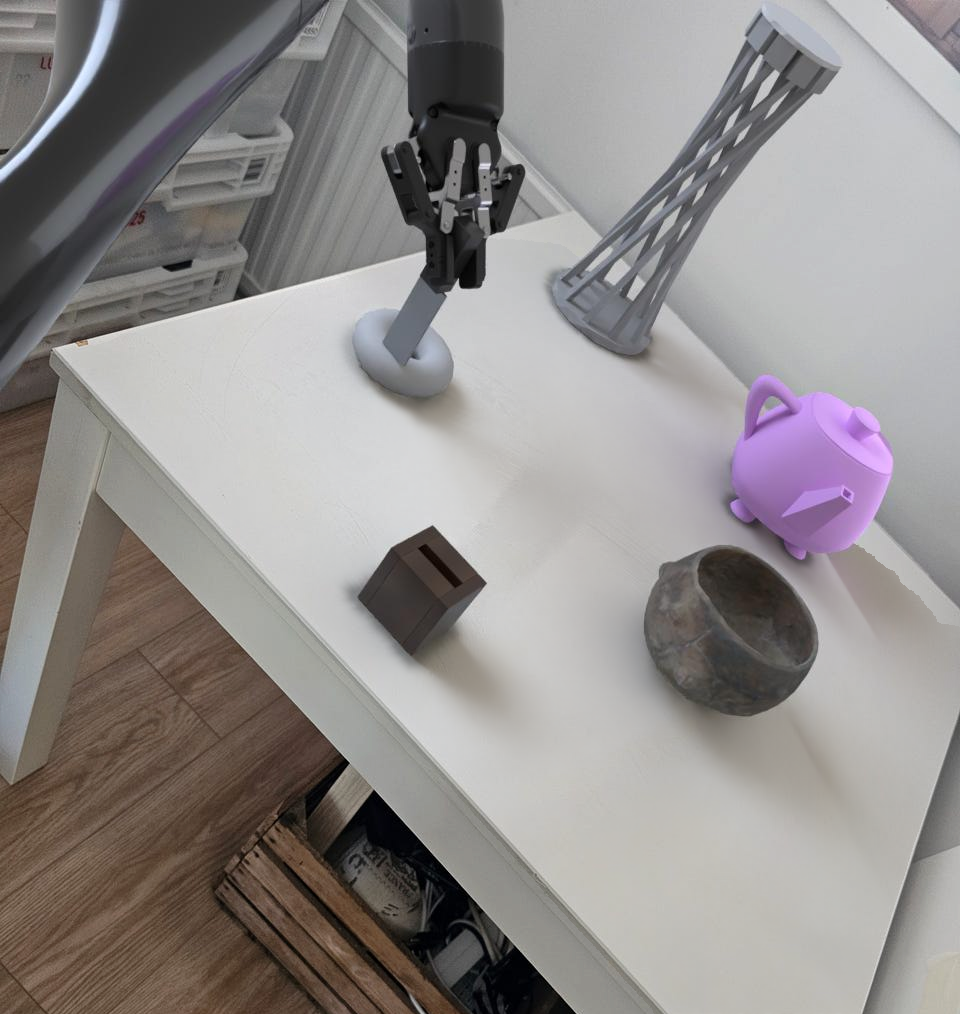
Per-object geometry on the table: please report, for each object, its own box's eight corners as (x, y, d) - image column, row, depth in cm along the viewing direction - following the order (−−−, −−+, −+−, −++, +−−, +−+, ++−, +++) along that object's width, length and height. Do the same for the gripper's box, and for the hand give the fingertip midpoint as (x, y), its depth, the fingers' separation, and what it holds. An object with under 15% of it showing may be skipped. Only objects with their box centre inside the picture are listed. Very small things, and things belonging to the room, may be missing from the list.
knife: (375, 343, 91) (449, 212, 81) (390, 340, 92) (465, 210, 83) (396, 368, 91) (473, 239, 81) (411, 364, 92) (489, 237, 82)
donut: (332, 322, 96) (366, 399, 91) (347, 292, 94) (382, 369, 89) (422, 338, 102) (458, 411, 97) (438, 310, 100) (475, 384, 95)
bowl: (612, 581, 94) (680, 510, 87) (746, 639, 99) (819, 576, 93) (621, 704, 85) (697, 636, 78) (767, 760, 90) (850, 700, 84)
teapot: (673, 514, 106) (773, 409, 96) (697, 419, 120) (785, 320, 110) (824, 617, 109) (936, 526, 99) (830, 513, 123) (927, 424, 113)
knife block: (356, 597, 77) (391, 547, 73) (398, 573, 81) (432, 524, 77) (410, 655, 76) (448, 608, 72) (449, 629, 80) (487, 583, 76)
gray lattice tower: (661, 336, 128) (870, 74, 104) (621, 368, 118) (842, 86, 95) (579, 263, 128) (769, -15, 105) (533, 289, 119) (731, -12, 95)
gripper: (415, 18, 73) (418, 277, 77) (553, 59, 82) (549, 289, 86) (353, 43, 78) (359, 285, 82) (489, 79, 87) (488, 295, 91)
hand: (456, 286), depth 84 cm, fingers closed on knife, 2 cm apart
